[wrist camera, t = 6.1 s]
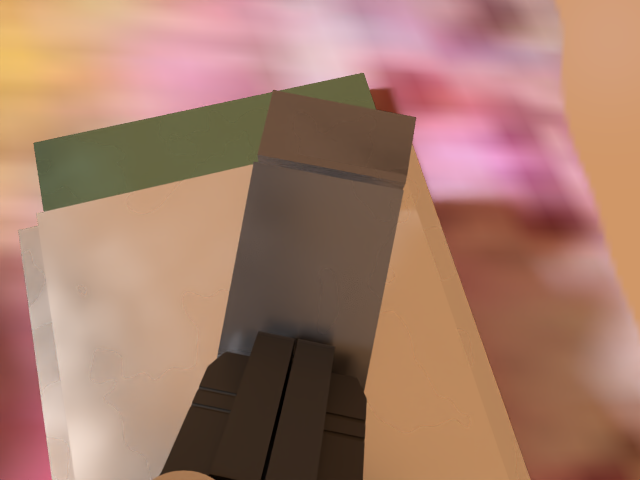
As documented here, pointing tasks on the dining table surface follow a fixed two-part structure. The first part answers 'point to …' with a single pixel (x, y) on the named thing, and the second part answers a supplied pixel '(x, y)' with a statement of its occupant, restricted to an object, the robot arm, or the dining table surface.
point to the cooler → (215, 280)
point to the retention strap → (312, 264)
